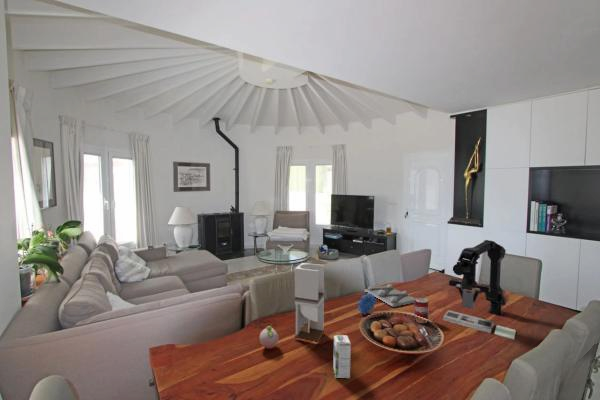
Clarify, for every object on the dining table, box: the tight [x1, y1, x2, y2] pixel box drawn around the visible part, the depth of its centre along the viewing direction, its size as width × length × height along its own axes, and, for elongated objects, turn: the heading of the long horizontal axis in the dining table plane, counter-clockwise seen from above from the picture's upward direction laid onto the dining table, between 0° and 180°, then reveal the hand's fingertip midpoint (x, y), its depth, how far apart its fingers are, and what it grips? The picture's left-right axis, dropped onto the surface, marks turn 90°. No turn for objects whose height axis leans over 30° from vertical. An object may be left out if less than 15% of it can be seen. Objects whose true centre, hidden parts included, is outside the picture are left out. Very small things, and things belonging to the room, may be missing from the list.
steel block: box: [461, 289, 476, 310], centre depth 156 cm, size 5×5×8 cm
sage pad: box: [493, 325, 516, 341], centre depth 146 cm, size 11×8×1 cm
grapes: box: [357, 293, 377, 314], centre depth 168 cm, size 12×7×12 cm, turn 109°
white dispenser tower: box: [294, 262, 325, 342], centre depth 140 cm, size 11×11×35 cm
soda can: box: [413, 297, 430, 320], centre depth 157 cm, size 7×7×12 cm
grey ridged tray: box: [363, 283, 417, 308], centre depth 192 cm, size 30×22×7 cm
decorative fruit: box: [259, 325, 279, 350], centre depth 131 cm, size 9×8×10 cm
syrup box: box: [332, 334, 352, 379], centre depth 113 cm, size 6×6×14 cm
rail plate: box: [442, 309, 494, 334], centre depth 156 cm, size 11×22×2 cm, turn 50°
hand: (468, 300), depth 156 cm, fingers closed on steel block, 5 cm apart
